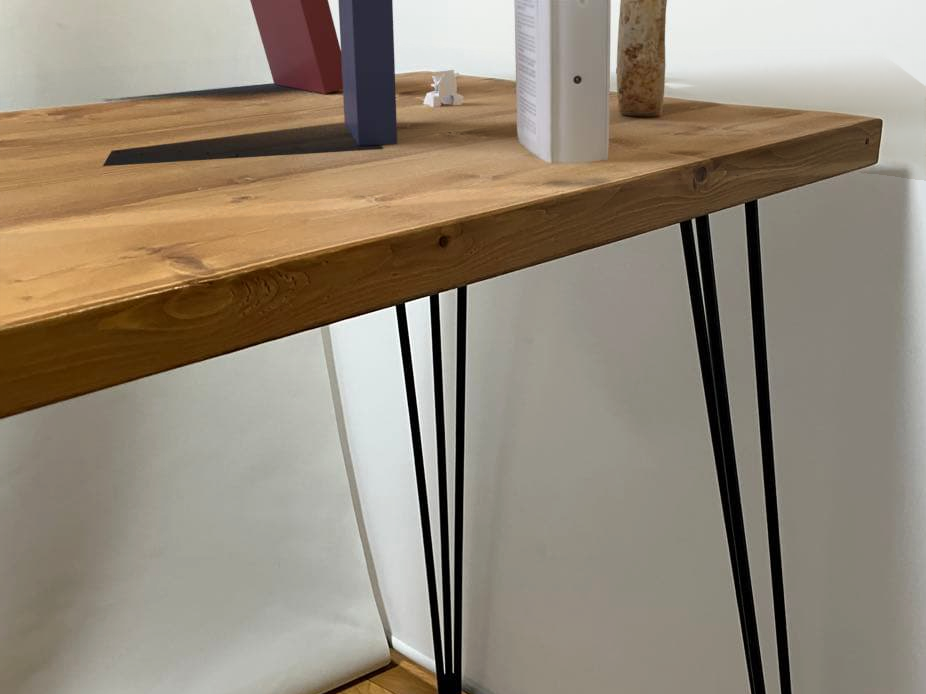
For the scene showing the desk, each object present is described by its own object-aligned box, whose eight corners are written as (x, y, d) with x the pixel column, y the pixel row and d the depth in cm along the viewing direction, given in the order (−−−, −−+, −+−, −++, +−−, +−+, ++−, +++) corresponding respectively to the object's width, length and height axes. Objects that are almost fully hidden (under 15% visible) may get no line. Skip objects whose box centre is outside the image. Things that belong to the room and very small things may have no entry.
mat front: (103, 174, 67) (101, 166, 67) (122, 140, 78) (121, 133, 78) (385, 156, 71) (384, 149, 70) (363, 126, 82) (363, 119, 82)
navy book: (347, -93, 66) (389, -92, 67) (333, -88, 75) (370, -88, 76) (358, 145, 71) (397, 144, 72) (344, 123, 80) (379, 122, 81)
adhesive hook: (437, 114, 88) (435, 72, 86) (419, 110, 89) (417, 70, 88) (469, 110, 89) (467, 69, 88) (450, 106, 91) (448, 67, 90)
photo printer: (617, 169, 65) (620, -58, 61) (547, 174, 64) (543, -57, 60) (573, 141, 75) (572, -58, 70) (510, 145, 74) (505, -57, 69)
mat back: (157, 122, 86) (156, 115, 86) (101, 105, 96) (100, 99, 95) (350, 100, 96) (349, 94, 96) (282, 87, 105) (281, 82, 105)
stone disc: (623, 108, 89) (624, -26, 85) (669, 108, 88) (673, -27, 84) (610, 129, 79) (611, -21, 75) (663, 129, 79) (666, -22, 75)
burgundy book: (279, -79, 89) (306, -86, 90) (227, -77, 96) (252, -83, 98) (325, 94, 96) (350, 86, 97) (273, 84, 103) (297, 76, 104)
